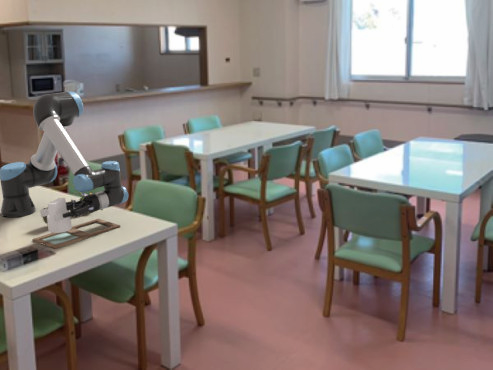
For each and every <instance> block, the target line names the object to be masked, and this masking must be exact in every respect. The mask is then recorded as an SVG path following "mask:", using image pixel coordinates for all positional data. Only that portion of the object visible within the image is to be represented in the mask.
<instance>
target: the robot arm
mask: <svg viewBox="0 0 493 370" xmlns="http://www.w3.org/2000/svg"><path fill="white" fill-rule="evenodd" d="M32 112H33V113H32V114H33V115H32V116H33V118H34V121H35V123H36V126H37V127H38V128H39V130H41V131H43V134H42V138H41V140H40V142H39V145H38V148H37V151H36V153H35V154H32V156H31V157H30V160H29V161H28V162H23V161H16V162H11V163H8V164H5V165H3V166H2V167H0V186H1V187H0V188H1V192H2V193H1V194H2V203H1V207H0V213H1V214H0V215H1V216H2V215H3V216H7V217H6V218H19V217H18V216H21V217H25V215H26V216H29V215H32V214H34V213H35V212H36V206H35V204H34V201H33V200H32V198H31V196H30V191H29V189H31V188H36V187H38V186H39V187H40V186H43V185H47V184H49V183H52V182H53V181H54V180H55V179H56V178H57V175H58V165H57V164H56V161H55V159H56V156H57V154H58V153H59V155H60V157H61V159H62V160H63V161H64V163H65V164H66V166H67V167H68V169H69V171H70V172H71V173H72V175H73V176H74V177H73V179H72V183H73V187H74V189H75V191H77V192H81V193H85V192H91V191H92V190H95V189H99V188H103V189H104V190H102V191H97V192H95V193H93V194H90V193H89V194H87V196H85V197H84V198H83V201H80V200H75V199H72V200H73V201H71V200H70V201H66V208H67V211H64V212H60V213H57V214H54V220H55V221H58V220H62V219H65V218H68V217H70V218H73V217H74V218H78V217H81V216H83V215H86V214H88V213H89V214H91V213H95V212H97V211H104V209H108V208H111V207H114V206H119V205H121V204H124V203H126V202H127V201H128V199H129V192H128V189H127V188H126V187H125V186H123V185H122V179H121V169H120V164H119V162H118V161H117V160H108V161H103V162H102V163H101V168H99V169H95V170H93V169H92V167H91V166H90V165H89V163H88V162H87V161H86V159H85V157H84V156H83V155H82V152H81V151H80V150H79V148H78V147H77V145H76V144H75V142H74V140H73V139H72V138H71V136H70V135H69V133H68V132H67V129H68V127H70V126H72V125H73V123H74V121H75V118H78V117H80V116H82V115H83V113H84V103H83V100H82V98H81V97H80V95H79V94H78V93H77V92H75V91H64V92H63V91H62V92H56V93H46V94H45V93H44V94H43V95H41V96H39V97H38V98H37V99H36V101H35V102H34V104H33V109H32ZM46 208H47V207H46ZM43 209H44V208H43ZM43 209H41V210H40V216H41V218H43V217H45V216H48V215H49V210H48V208H47V209H44V210H43ZM33 212H34V213H33ZM3 216H2V217H3Z"/></svg>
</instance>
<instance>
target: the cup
mask: <svg viewBox="0 0 493 370" xmlns="http://www.w3.org/2000/svg"><path fill="white" fill-rule="evenodd" d="M47 208H48V206H47V207H44V208H42V210H44V209H47ZM42 220H43V222H44V223H45V224H47V227H48V222H47V216H45V217H42Z"/></svg>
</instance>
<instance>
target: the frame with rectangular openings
mask: <svg viewBox="0 0 493 370" xmlns="http://www.w3.org/2000/svg"><path fill="white" fill-rule="evenodd" d="M96 223H97V224H98V223H99V224H101V225H105V226H108V227H105V228H102V229H99V230H96V231H93V232H91V233H90V232H87V231H84V230H81V229H80V228H83V227H86V226H90V225H93V224H96ZM118 228H121V225H120V224H118V223H114V222H110V221H108V220H107V221H106V220H103V219H101V218H96V219H92V220H89V221H87V222H83V223H80V224H76V225H73V226H72V229H71V230H69V231H66V232H62V233H51V232H49V233H47V234H44V235H41V236H38V237H34V238H32V242H34V243H37V244H40V243H43V244H45V245H47V246H48V248H50V249H53V250H57V249H59V248H62V247H65V246H68V245H71V244H73V243H74V244H75V243H77V242H79V241H83V240H85V239H89V238H92V237H94V236H99V235H101V234H103V233H106V232H110V231H113V230H115V229H118ZM45 245H44V246H45ZM47 246H46V247H47Z"/></svg>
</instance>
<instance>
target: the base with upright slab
mask: <svg viewBox="0 0 493 370" xmlns="http://www.w3.org/2000/svg"><path fill="white" fill-rule="evenodd" d="M66 202H67V201H66V198H64V197H58V198H56V199H54V200H52V201H50V202H49V203H47V207H48V210H49V215H48V216H47V222H48V226H47V228H48V229H47V231H48V232H49V233H62V232H65V233H66V231H69V230H71V229H72V227H73V226H72V219H71V218H72V217H71V216H70V217H68V218H65V219H62V220H58V221H55V220H54V214H57V213H60V212H64V211H67V208H66Z"/></svg>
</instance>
